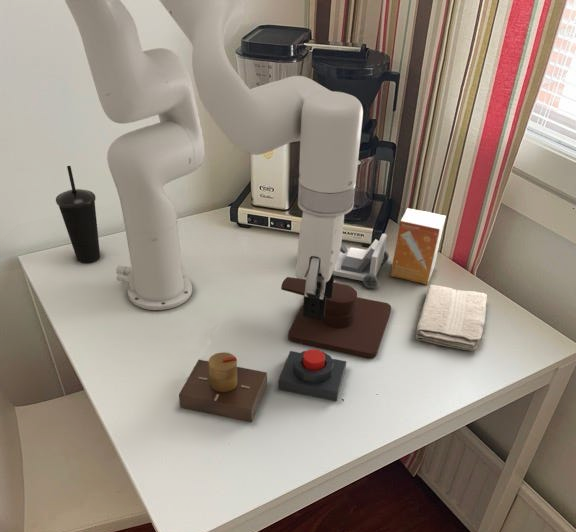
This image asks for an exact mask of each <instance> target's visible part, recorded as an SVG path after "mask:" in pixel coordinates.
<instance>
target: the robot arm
mask: <svg viewBox="0 0 576 532" xmlns="http://www.w3.org/2000/svg"><path fill="white" fill-rule="evenodd" d="M64 1H65V4H66V6H67V8H68V10H69V11H70V13H71V16H72V18H73V20H74V22H75V24H76V26H77V30H78V32H79V35H80V38H81V41H82V45H83V49H84V52H85V56H86V60H87V63H88V66H89V70H90V73H91V77H92V81H93V84H94V87H95V90H96V93H97V97H98V100H99V103H100V106H101V108H102V111H103V112H104V114H105V115H106V117H107V118H108V119H109V120H110V121H112V122H113V123H117V124H130V123H135V122H138V121H141V120H146V119H148V118H152V117H155V116H158V119H159V122H156V123H154V124H151V125H146V126H143V127H140V128H138V129H135V130H131V131H129V132H125V133H124V134H122V135H120V136H118V137H117V138H115V139H114V140H113V142H111V143H110V145H109V147H108V150H107V154H106V156H107V157H106V160H107V164H108V169H109V172H110V175H111V177H112V181H113V183H114V186H115V189H116V193H117V195H118V199H119V203H120V208H121V213H122V218H123V224H124V228H125V235H126V242H127V247H128V253H129V259H130V260H129V261H130V264H131V266H130V267H129V266H126V265H121V264H117V266H116V269H115V273H116V274H117V275H116V281H118V282H123V283H127V284H129V285H128V287H127V296H128V299H129V301H130V302H131V304H134V305H135V306H137V307H138V308H141V309H144V310H150V311H165V310H170V309H175V308H176V307H178V306H182V305H183V304H185V303H186V302H187V301H188V300H189V299H190V298H191V296H192V294H193V286H192V282H191V280H190V279H189V278H188V277H186V276H185V275H184V272H183V263H182V253H181V243H180V233H179V225H178V222H179V221H178V216H177V209H176V206H175V203H174V201H173V200H172V199H171V197H170V196H169V195H168V194H166V192H165V191H164V186H165V185H166V184H169V183H171V182H172V181H175V180H177V179H180V178H183V177H185V176H188V175H189V174H192V173H194V172H196V171H197V170H198V169H199V168H200V167H201V166H202V165H203V162H204V159H205V152H206V148H205V141H204V134H203V130H202V125H201V120H200V115H199V110H198V106H197V105H198V104H197V101H196V95H195V91H194V86H193V82H192V79H191V76H190V73H189V70H188V68H187V66H186V65H185V63H184V61H183V60H182V58H181V57H180V56H179V55H177V53H175V52H174V51H173V50H170V49H168V48H164V47H158V48H157V47H156V48H150V49H146V50H143V47H142V44H141V41H140V36H139V33H138V29H137V24H136V22H135V19H134V17H133V15H132V14H131V13H130V11H129V10H128V8H127V7H126V6H125V4H124V3H123V2H122V1H121V0H64ZM158 1H159V3H160V4H161V5H162V6H163V7H164V9H165V10H166V11H167V13H168V14H169V15H170V17H171V18H172V19H173V21H174V22H175V24H177V26H178V27H179V29H180V30H181V31H182V32H183V34H184V35H185V37H186V38H187V39H188V41H189V42H190V44H191V45H192V53H191V54H192V55H191V56H192V57H191V66H192V73H193V79H194V83H195V87H196V91H197V93H198V94H197V95H198V97H199V99H200V101H201V103H202V105H203V107H204V109H205V110H206V112H207V113H208V115H209V116H210V118H211V119H212V120H213V122H214V123H215V124H216V126H217V127H218V128H219V129H220V131H221V132H222V133H223V135H224V136H225V137H226V138H227V139H228V140H229V142H230V143H231V144H232V145H233V146H235V148H237V149H239V150H240V151H242V152H243V153H245V154H249V155H255V156H258V155H264V154H267V153H269V152H271V151H274V150H276V149H278V148H281V147H283V146H285V145H288V144H291V143H295V142H299V165H298V167H299V168H298V188H297V189H298V191H297V206H298V208H299V210H301V211H302V215H301V221H300V227H299V234H298V244H297V245H298V246H297V256H296V266H295V267H296V268H295V276H296V277H295V278H298V279H306V285H305V293H304V296H303V303H304V306H303V316H304V317H308V318H314V319H319V320H323V319H324V317H325V306H326V298H331V297H332V294H333V283H335V275H332V274H333V272H334V267H335V265H336V262H337V259H338V256H339V253H340V248H341V244H342V241H343V234H344V225H345V224H344V223H345V215H347V214H349V213H350V212H351V211H352V210H353V209H354V202H355V194H356V193H355V192H356V183H357V174H358V166H359V155H360V147H361V137H362V128H363V118H364V108H363V105H362V102H361V101H360V100H359V99H358V98H357V97H356V96H354V95H352V94H349V93H346V92H342V91H332V90H330V89H328V88H326V87H325V86H323V85H321V84H320V83H318V82H317V81H315V80H313V79H311V78H309V77H307V76H303V75H293V76H288V77H285V78H281V79H278V80H275V81H274V80H273V81H271V82H267V83H265V84H262V85H259V86H256V87H253V88H249V87H248V85H247V84H246V83H245V81H243V79H242V78H241V77H240V74H238V73H237V71H236V70H235V68H234V66H233V65H232V63H231V62H230V60H229V58H228V56H227V55H228V54H227V53H226V49H225V47H226V46H227V45H228V44H229V43H230V42H231V40H232V39H233V38H234V37H235V35H236V34H237V32H238V31H239V29H240V28H241V26H242V23H243V20H244V19H245V13H246V6H245V5H246V4H245V2H244V0H158ZM306 272H307V273H306ZM305 277H306V278H305Z"/></svg>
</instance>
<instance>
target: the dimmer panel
mask: <svg viewBox="0 0 576 532" xmlns="http://www.w3.org/2000/svg"><path fill="white" fill-rule="evenodd" d="M237 379H238V383H237V386H236V387H235V388H234V389H233V390H231V391H228V392H219V391H216V390H214V389H213V388H212V387H211V385H210V374H209V360H204V359H198V360H197V362H196V364H195V365H194V367H193V369H192V370H191V372H190V374H189V375H188V378H187V379H186V380H185V383H184V384H183V386H182V388H181V390H180V392H179V393H178V401H179V408H180V409H184V410H190V411H193V412H198V413H204V414H209V415H214V416H218V417H223V418H229V419H233V420H238V421H242V422H247V423H252V422H253V420H254V418H255V416H256V414H257V411H258V409H259V406H260V404H261V401H262V399H263V398H264V397H263V396H264V395H265V392H266V389H267V387H268V372H267V371H263V370H262V371H261V370H257V369H251V368H245V367H242V366H241V367H240V366H237Z"/></svg>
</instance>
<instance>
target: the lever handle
mask: <svg viewBox="0 0 576 532" xmlns="http://www.w3.org/2000/svg"><path fill="white" fill-rule="evenodd" d="M305 285H306V278H303V279H301V278H300V279H298V278H297V277H291V276H287V277H285V278H284V280H283V281H282V282H281V286H280V290H282V291H285V292H288V293H292V294H296V295H300V296H302V297H304V293H305ZM303 306H304V302H303V303H302V305H301V307H300V309H299V311H298V312H297V314H296V317H295V318H294V320H293V322H292V324H291V326H290V328H289V330H288V335H287V336H288V338H287V339H288V341H289V342H292V343H295V344H298V345H303V346H309V347H313V348H316V349H317V348H318V349H322V350H326V351H331V352H336V353H341V354H345V355H349V356H354V357H359V358H364V359H375V358H376V357H377V355H378V352H379V349H380V346H381V343H382V341H383V337H384V334H385V331H386V328H387V325H388V321H389V318H390V315H391V311H392V306H391V304H390V303H388V302H384V301H380V300H374V299H369V298H364V297H359V296H358V292H357V290H356V289H355V288H354V287H352V286H351V285H348V284H345V283H340V282H339V283H338V282H334V283H333V294H332V297H331V298H326V306H325V317H324V319H323V320H319V319H314V318H308V317H304V316H303Z"/></svg>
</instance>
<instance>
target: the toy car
mask: <svg viewBox="0 0 576 532" xmlns="http://www.w3.org/2000/svg"><path fill="white" fill-rule="evenodd" d="M387 237H388V234H387V233H382V234H381V236H380V238H379V240H378V239H376V238H375V240H373V241H372V243H371V244H370V245H369V247H368V248H367V249H362V248H357V247H352V246H351V247H350V248H348V247H347V246H346V244H345V243H341V248H340V253H339V256H338V259H337V262H336V265H335V267H334V272H333V274H332V275H334V276H336V277H341V278H347V279H351V280H357V281H361V282H362V284H363V286H364V287H365V288H367V289H370V290H371V289H372V290H373V289H375V288H377V286H378V284H379V279H378V277H377V275H378V272H379V270H380V268H381V266H382V264H384V263H386V262H388V261H389V258H390V254H389V252H388V251H387V250H386V246H387V245H386V244H387V239H388V238H387ZM306 274H307V272H306Z"/></svg>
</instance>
